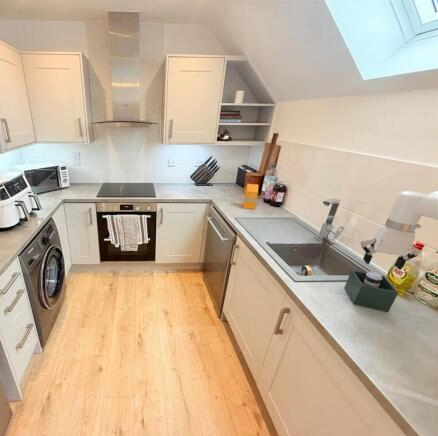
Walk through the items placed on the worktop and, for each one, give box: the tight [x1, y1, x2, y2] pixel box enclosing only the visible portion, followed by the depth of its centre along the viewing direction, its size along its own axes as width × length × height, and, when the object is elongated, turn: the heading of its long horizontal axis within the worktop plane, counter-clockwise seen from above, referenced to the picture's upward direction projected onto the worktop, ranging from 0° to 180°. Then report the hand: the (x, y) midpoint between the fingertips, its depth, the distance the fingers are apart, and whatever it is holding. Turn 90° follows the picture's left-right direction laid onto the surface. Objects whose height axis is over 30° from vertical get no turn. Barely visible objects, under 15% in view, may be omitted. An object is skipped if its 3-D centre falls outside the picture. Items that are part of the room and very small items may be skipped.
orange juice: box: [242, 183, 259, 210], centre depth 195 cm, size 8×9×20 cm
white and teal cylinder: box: [363, 270, 383, 288], centre depth 96 cm, size 5×5×12 cm
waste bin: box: [343, 269, 399, 313], centre depth 97 cm, size 11×11×10 cm
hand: (381, 264), depth 92 cm, fingers open, 9 cm apart
